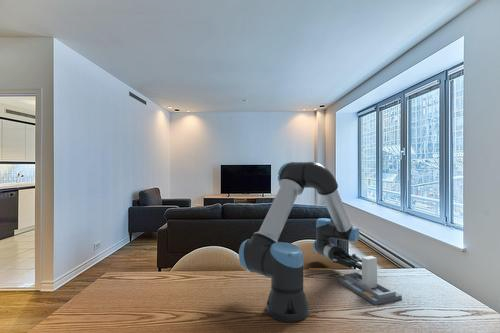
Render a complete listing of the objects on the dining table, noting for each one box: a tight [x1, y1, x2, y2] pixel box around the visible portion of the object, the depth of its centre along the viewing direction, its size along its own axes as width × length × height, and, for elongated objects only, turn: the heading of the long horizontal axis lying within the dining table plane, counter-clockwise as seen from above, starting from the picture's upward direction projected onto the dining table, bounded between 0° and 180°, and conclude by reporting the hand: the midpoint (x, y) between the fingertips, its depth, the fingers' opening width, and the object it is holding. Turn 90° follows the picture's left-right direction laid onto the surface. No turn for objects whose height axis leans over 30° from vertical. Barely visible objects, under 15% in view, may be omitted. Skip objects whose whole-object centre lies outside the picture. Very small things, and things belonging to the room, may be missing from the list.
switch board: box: [338, 271, 403, 306], centre depth 115 cm, size 22×13×3 cm, turn 18°
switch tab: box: [361, 255, 378, 288], centre depth 114 cm, size 3×5×12 cm, turn 108°
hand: (368, 270), depth 116 cm, fingers closed
